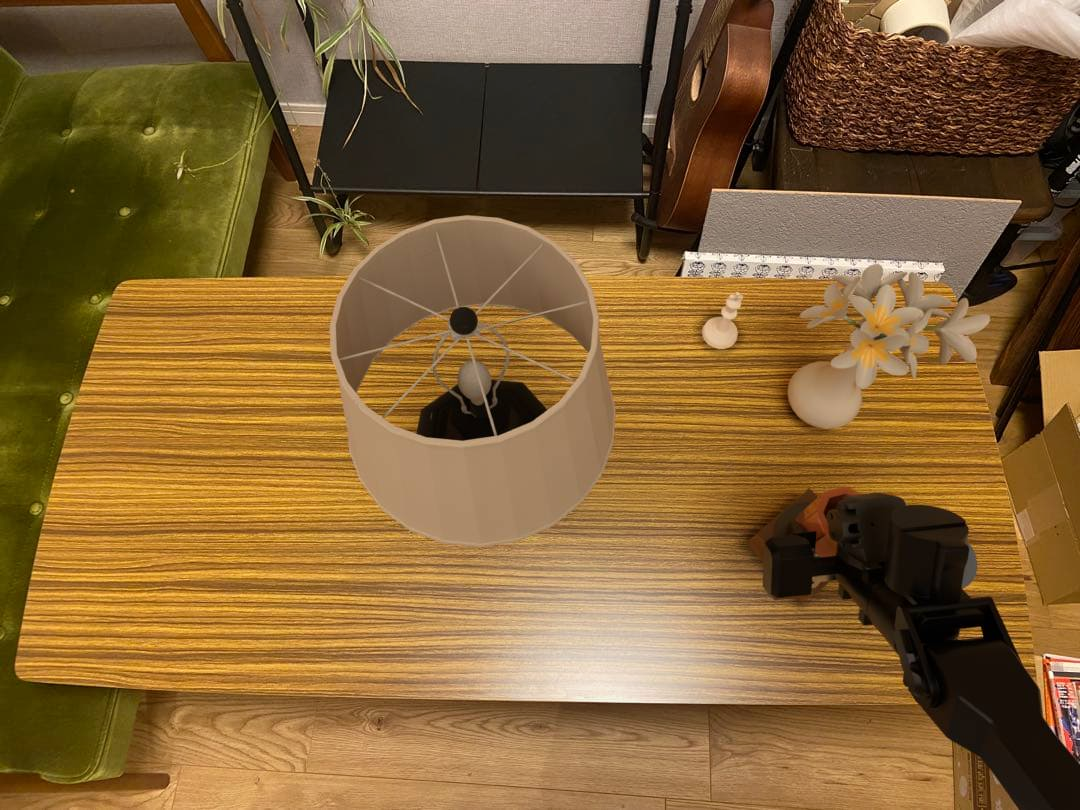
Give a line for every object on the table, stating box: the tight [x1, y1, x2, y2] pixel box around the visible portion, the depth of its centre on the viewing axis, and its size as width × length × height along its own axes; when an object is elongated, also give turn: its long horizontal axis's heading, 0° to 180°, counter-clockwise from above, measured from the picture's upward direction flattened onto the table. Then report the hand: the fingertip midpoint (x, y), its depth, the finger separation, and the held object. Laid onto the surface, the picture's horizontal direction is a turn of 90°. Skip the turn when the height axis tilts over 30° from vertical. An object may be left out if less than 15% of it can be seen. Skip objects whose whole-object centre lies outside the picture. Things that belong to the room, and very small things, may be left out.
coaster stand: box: [745, 487, 831, 604], centre depth 84 cm, size 9×9×6 cm
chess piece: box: [701, 291, 744, 350], centre depth 95 cm, size 5×5×10 cm
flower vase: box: [786, 263, 991, 430], centre depth 83 cm, size 13×18×25 cm
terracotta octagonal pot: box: [796, 486, 863, 558], centre depth 76 cm, size 6×6×8 cm
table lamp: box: [329, 214, 617, 548], centre depth 72 cm, size 27×27×40 cm
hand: (821, 520), depth 79 cm, fingers closed on terracotta octagonal pot, 6 cm apart
